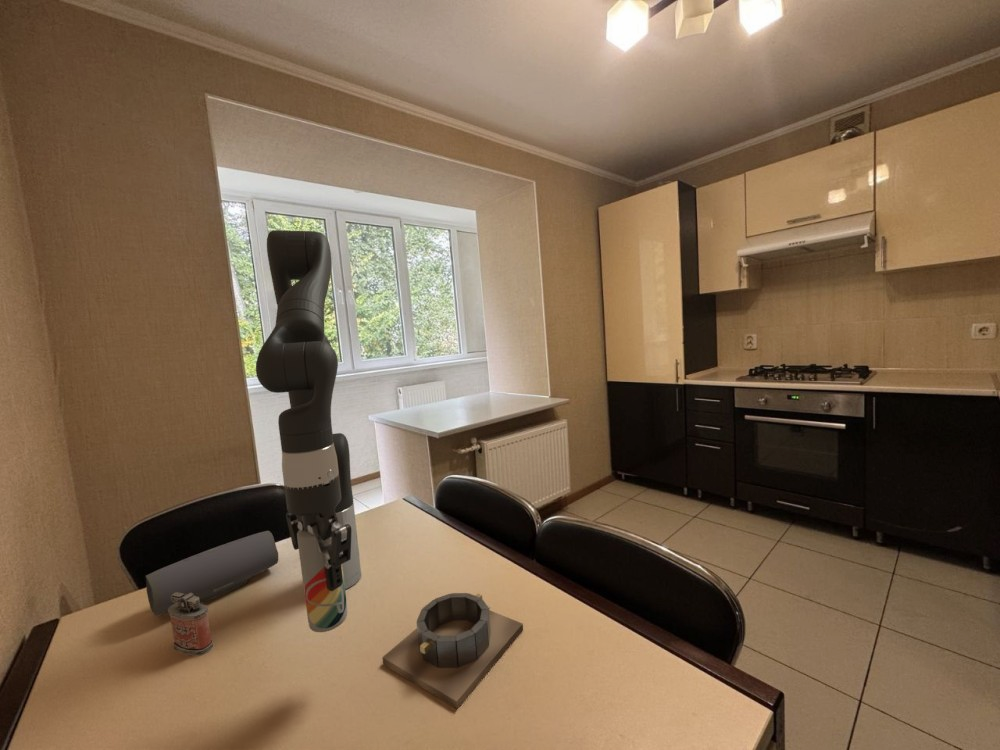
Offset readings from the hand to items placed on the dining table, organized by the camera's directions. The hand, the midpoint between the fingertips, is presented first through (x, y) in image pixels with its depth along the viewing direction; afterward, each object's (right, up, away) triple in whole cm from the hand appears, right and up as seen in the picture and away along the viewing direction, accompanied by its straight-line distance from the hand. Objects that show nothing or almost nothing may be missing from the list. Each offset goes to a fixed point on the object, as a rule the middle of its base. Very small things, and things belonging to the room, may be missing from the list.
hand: (324, 581), depth 64 cm
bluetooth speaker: (-35, -17, +28) cm, 48 cm away
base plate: (+20, -15, +7) cm, 25 cm away
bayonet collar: (+19, -13, +7) cm, 25 cm away
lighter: (-28, -18, +11) cm, 35 cm away
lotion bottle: (0, -7, +1) cm, 7 cm away
